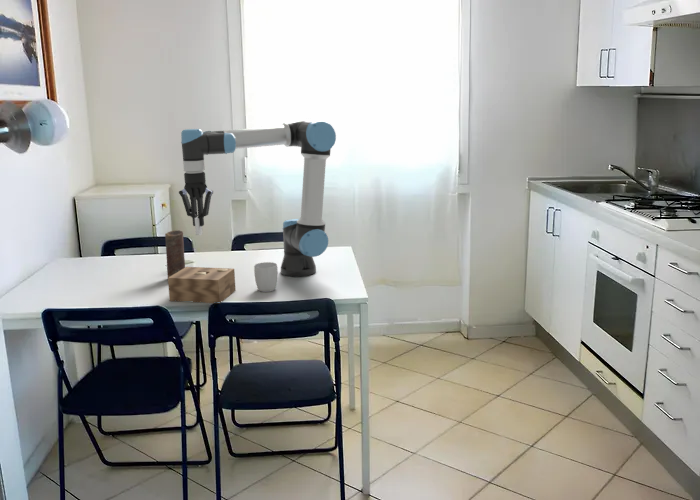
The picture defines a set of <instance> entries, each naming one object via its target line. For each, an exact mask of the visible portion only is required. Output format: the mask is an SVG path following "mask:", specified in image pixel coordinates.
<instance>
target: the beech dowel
mask: <svg viewBox="0 0 700 500" xmlns="http://www.w3.org/2000/svg"><path fill="white" fill-rule="evenodd" d="M195 275H206V272H197V273H195Z"/></svg>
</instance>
